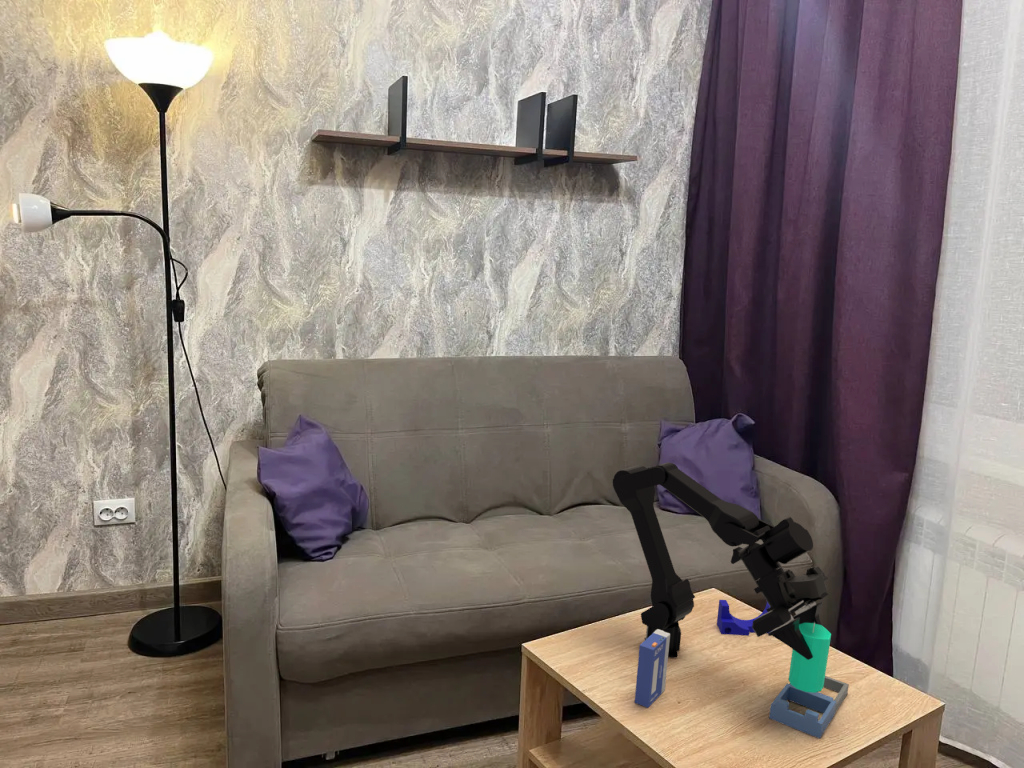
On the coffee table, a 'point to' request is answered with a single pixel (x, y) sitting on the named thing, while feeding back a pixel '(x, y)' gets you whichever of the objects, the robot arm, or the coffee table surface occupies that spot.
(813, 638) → the candle
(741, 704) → the coffee table surface
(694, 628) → the coffee table surface
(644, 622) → the robot arm
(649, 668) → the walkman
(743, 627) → the cable clip
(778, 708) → the frame
